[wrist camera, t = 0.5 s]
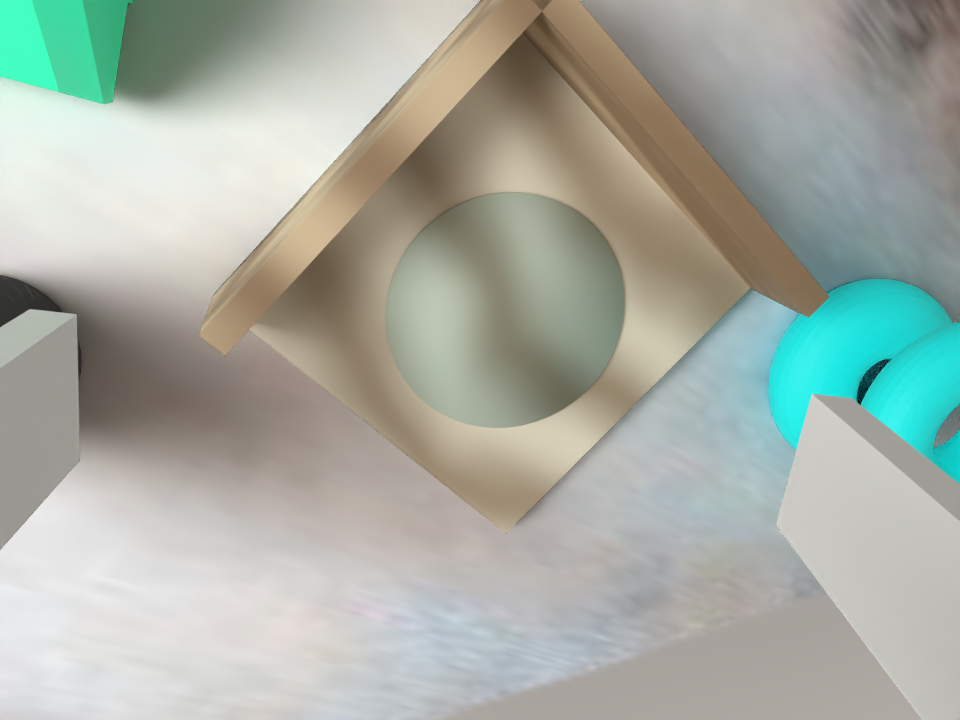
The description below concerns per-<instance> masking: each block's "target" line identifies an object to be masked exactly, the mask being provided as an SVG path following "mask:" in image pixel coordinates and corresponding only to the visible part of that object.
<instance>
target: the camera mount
mask: <svg viewBox="0 0 960 720" xmlns="http://www.w3.org/2000/svg"><path fill="white" fill-rule="evenodd" d="M128 3H130V4H133V0H0V77H4V78H8V79H12V80H15V81H19V82H23V83H27V84H30V85H34V86H38V87H42V88H45V89H49V90H53V91H57V92H61V93H64V94H68V95H72V96H76V97H79V98H83V99H87V100H91V101H94V102H98V103H102V104H106V103H111V102H112V101H113V95H114V89H115V82H116V76H117V69H118V63H119V57H120V50H121V44H122V37H123V31H124V25H125V18H126V12H127V5H128Z"/></svg>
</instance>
